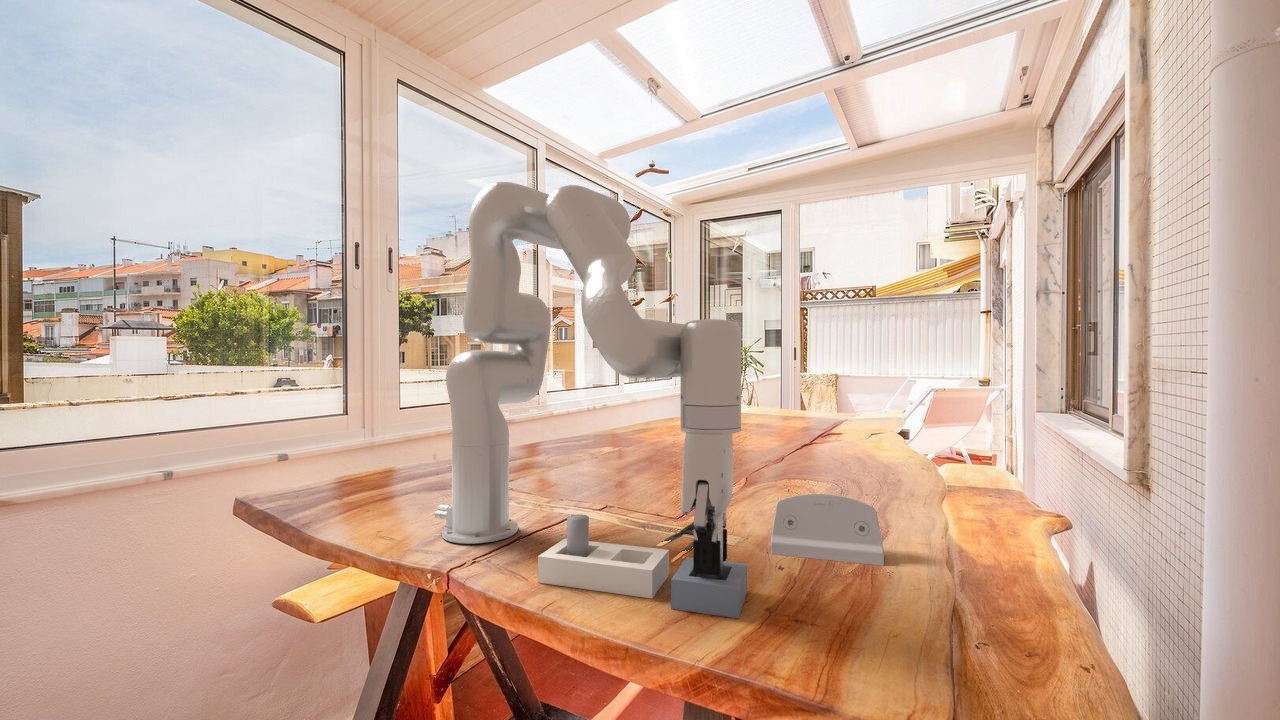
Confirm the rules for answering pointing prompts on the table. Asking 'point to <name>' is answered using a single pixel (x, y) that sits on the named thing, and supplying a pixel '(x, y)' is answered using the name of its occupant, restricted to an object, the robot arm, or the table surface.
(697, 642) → the table surface
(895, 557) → the table surface
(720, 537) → the grey peg
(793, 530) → the grey wall bracket
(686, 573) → the socket block
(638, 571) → the rack
